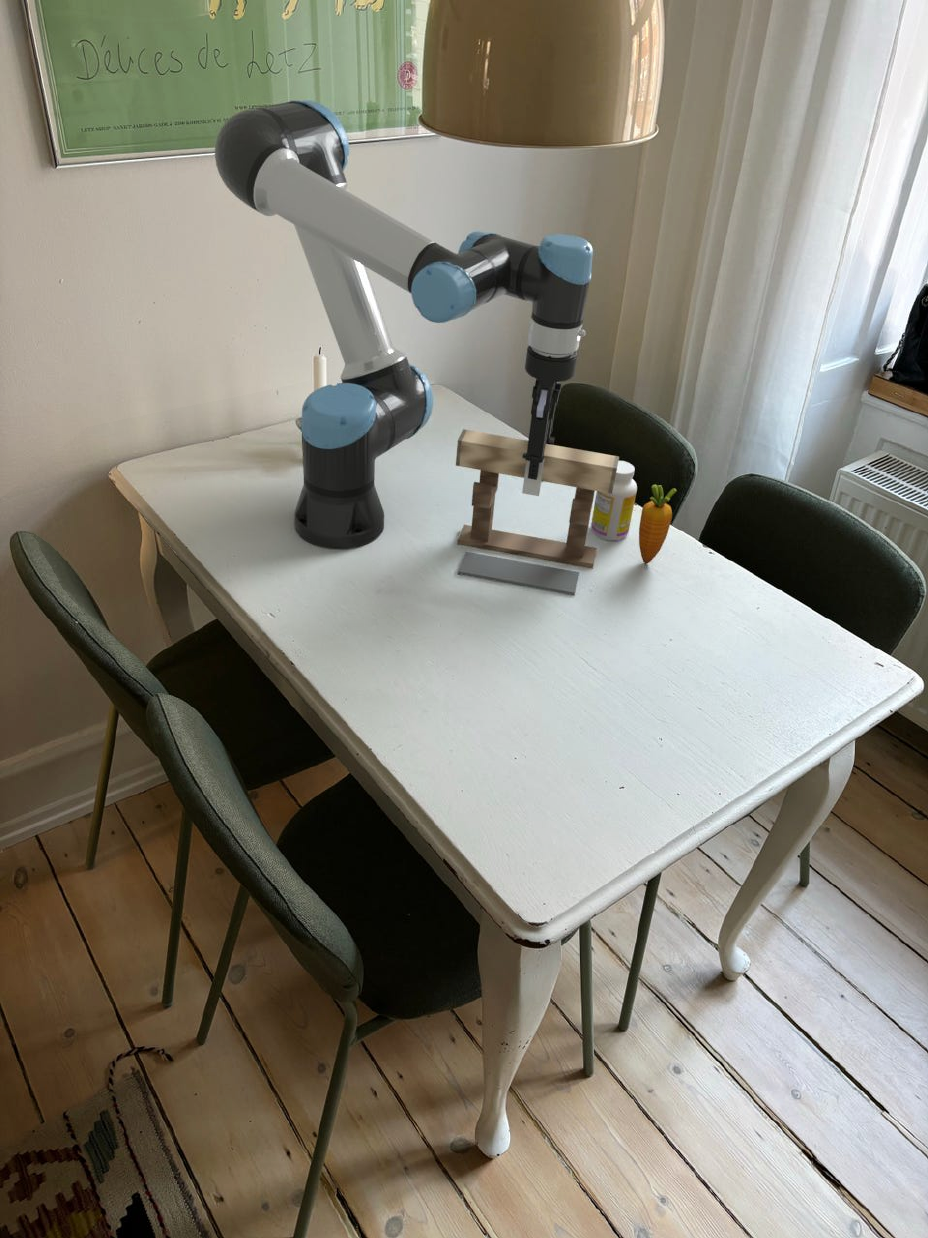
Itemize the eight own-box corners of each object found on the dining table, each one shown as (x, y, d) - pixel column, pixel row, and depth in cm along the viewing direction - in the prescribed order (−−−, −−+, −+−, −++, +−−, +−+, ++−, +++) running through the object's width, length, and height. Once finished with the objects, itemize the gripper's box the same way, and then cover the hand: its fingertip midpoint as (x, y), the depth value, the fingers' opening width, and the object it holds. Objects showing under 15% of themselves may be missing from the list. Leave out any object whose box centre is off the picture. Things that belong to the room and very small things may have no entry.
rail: (455, 465, 156) (457, 440, 153) (461, 454, 159) (463, 429, 156) (611, 493, 153) (616, 468, 150) (614, 481, 156) (619, 456, 153)
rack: (456, 547, 163) (461, 481, 155) (464, 526, 168) (470, 462, 161) (592, 571, 160) (604, 506, 153) (596, 550, 165) (608, 485, 158)
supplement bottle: (627, 524, 173) (640, 459, 165) (628, 544, 168) (642, 478, 160) (589, 519, 173) (601, 455, 165) (589, 539, 168) (601, 474, 160)
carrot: (664, 560, 164) (682, 482, 155) (655, 575, 161) (674, 496, 152) (636, 552, 166) (652, 474, 157) (627, 566, 162) (643, 487, 153)
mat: (457, 574, 157) (458, 571, 156) (465, 554, 162) (465, 551, 161) (574, 595, 154) (574, 592, 154) (578, 575, 159) (579, 571, 159)
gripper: (570, 374, 136) (548, 517, 150) (585, 331, 149) (563, 466, 163) (518, 365, 137) (500, 508, 151) (536, 323, 150) (519, 458, 164)
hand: (533, 486), depth 157 cm, fingers closed on rail, 4 cm apart
